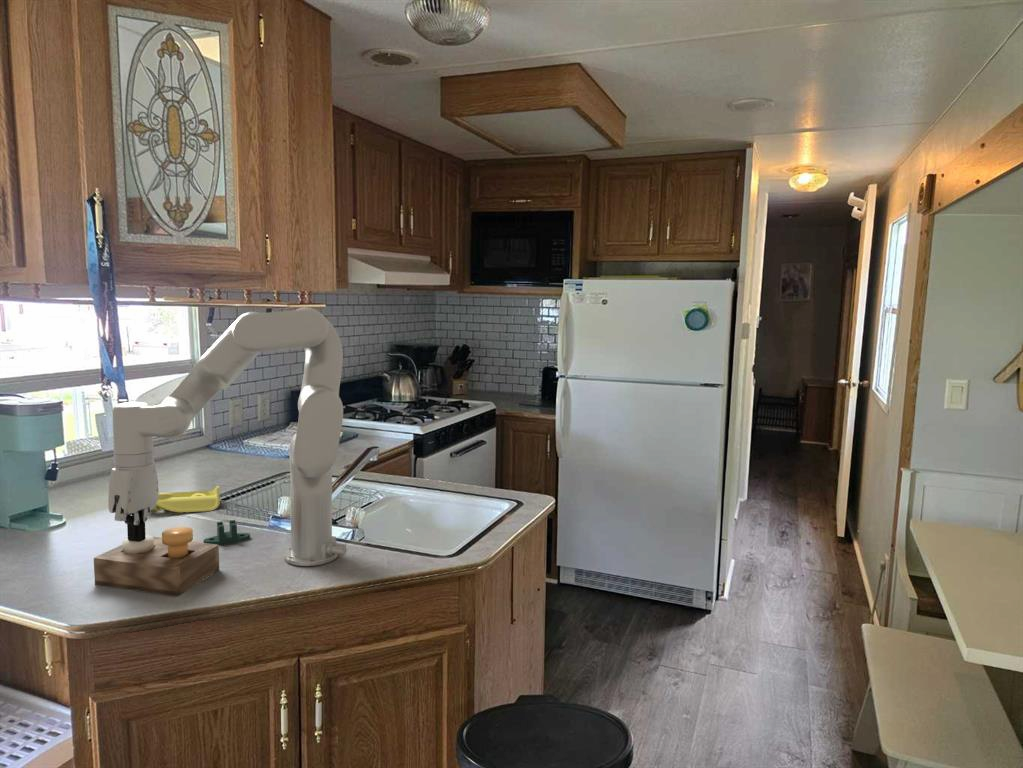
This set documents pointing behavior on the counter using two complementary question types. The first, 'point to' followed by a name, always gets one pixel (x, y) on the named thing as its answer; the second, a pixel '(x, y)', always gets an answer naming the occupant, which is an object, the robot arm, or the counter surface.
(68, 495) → the counter surface
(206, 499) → the plastic component
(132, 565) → the wooden peg board
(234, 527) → the mount
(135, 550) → the cream button
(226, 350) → the robot arm
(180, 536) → the orange button
